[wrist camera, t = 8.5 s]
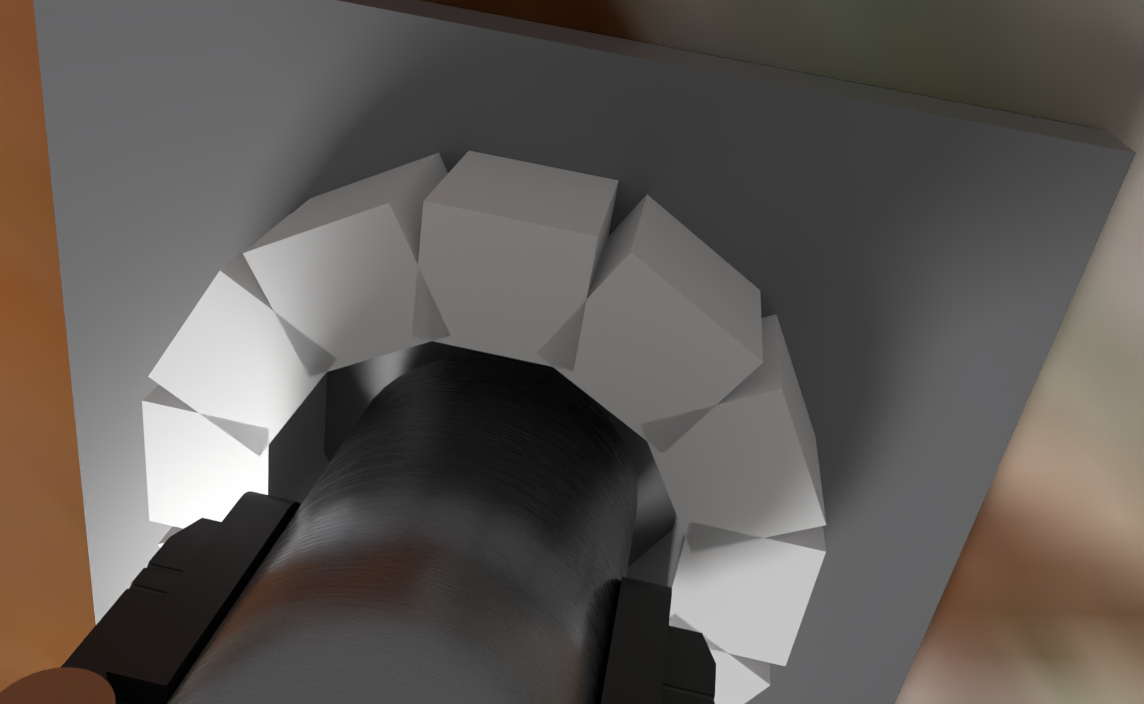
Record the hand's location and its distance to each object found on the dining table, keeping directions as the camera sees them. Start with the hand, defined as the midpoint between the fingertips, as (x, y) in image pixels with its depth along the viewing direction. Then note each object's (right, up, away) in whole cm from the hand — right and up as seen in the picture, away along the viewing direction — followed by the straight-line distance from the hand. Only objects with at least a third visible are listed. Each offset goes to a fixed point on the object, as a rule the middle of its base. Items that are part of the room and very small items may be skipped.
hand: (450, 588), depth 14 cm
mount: (+1, +2, +4) cm, 5 cm away
